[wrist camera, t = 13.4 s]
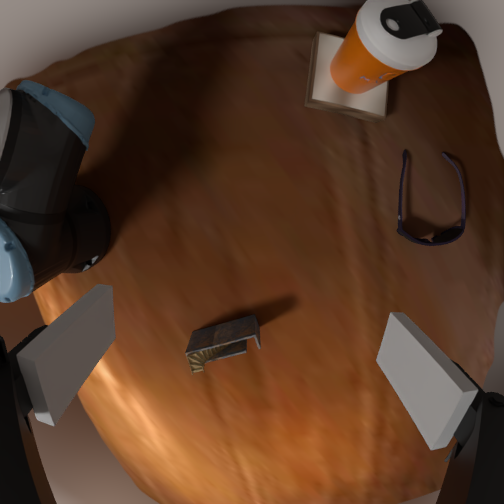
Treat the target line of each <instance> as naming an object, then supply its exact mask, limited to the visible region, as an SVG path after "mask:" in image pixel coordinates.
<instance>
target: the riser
mask: <svg viewBox="0 0 504 504" xmlns="http://www.w3.org/2000/svg"><path fill="white" fill-rule="evenodd" d="M344 39H345V38H343V37H339V36H335V35H331V34H326V33H322V32H317V33H316V35H315V37H314V39H313V42H312V50H311V59H310V67H309V75H308V83H307V91H306V98H305V107H310V108H315V109H320V110H325V111H330V112H334V113H339V114H343V115H347V116H351V117H355V118H359V119H363V120H367V121H371V122H375V123H377V122H380V121H382V120H385V119H386V111H387V99H388V86H389V80H388V81H386V82H384V83H382V84H380V85H378V86H376V87H374V88H372V89H370V90H368V91H366V92H364V93H361V94H352V93H349V92H346V91H344V90H342V89H341V88H340V87H339V86H338V85H337V84H336V83H335V82H334V81H333V79H332V77H331V73H330V64H331V61H332V59H333V58H334V56H335V54H336V52H337V51H338V49H339V47H340V46H341V44H342V42H343V41H344Z"/></svg>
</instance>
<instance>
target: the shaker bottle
mask: <svg viewBox="0 0 504 504" xmlns="http://www.w3.org/2000/svg"><path fill="white" fill-rule="evenodd" d="M441 33H442V28H441V27H440V25H439V24H438V22H437V21H436V19H435V18H434V16H433V15H432V13H431V12H430V10H429V9H428V8H427V6H426V5H425V3H424V2H423V1H422V0H411V1H408V0H367V1H366V2H365V4H364V5H363V6H362V7H361V8H360V10H359V11H358V13H357V16H356V20H355V22H354V24H353V25H352V27H351V29H350V30H349V32H348V34H347V36H346V37H345V39H344V41H343V42H342V44H341V46H340V47H339V49H338V51H337V52H336V54H335V56H334V58H333V59H332V61H331V64H330V73H331V77H332V79H333V81H334V82H335V83H336V84H337V85H338V86H339V87H340V88H341V89H342V90H344V91H346V92H349V93H352V94H361V93H364V92H366V91H368V90H370V89H372V88H374V87H376V86H378V85H380V84H382V83H384V82H386V81H388V80H390V79H392V78H394V77H396V76H398V75H401V74H403V73H405V72H407V71H412V70H416V69H418V68H420V67H422V66H423V65H425V64H427V63H428V62H430V61H431V60H432V59H433V57H434V55H435V53H436V50H437V38H436V36H438V35H439V34H441Z"/></svg>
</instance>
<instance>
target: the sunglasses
mask: <svg viewBox="0 0 504 504" xmlns="http://www.w3.org/2000/svg"><path fill="white" fill-rule="evenodd" d="M442 156H443V157H444V158H445V159H446V160H447V161H448V162H450V163H451V164H452V165H453V166H454V168H455V169H456V171H457V173H458V176H459V180H460V184H461V195H462V219H461V226H454V227H452V228H450V229H448V230H446V231H444V232H442V233H441V235H440V236H434V237H433V238H431V240H432V242H430V241H429V240H428V239H419V238H413V237H411V236H410V235H409V234H407V233H406V232H405V231H404V230H403V229H402V192H403V180H404V174H405V167H406V159H407V153H406V150H404V152H403V168H402V173H401V179H400V189H399V208H398V229H397V232H398V233H399V234H400V235H402V236H404V237H405V238H406V239H408V240H410V241H411V242H414V243H417V244H422V245H427V246H436V245H444V244H448V243H451V242H453V241H455V240H457V239H458V238H459V237H460V236H461V235H462V234H463V232H464V229H465V218H466V209H465V192H464V185H463V181H462V177H461V174H460V171H459V169H458V168H457V166H456V165H455V164H454V162H453V161H452V160H451V159H450V158H449V157H448V156H447V155H446V154H445V153H444V152H442Z"/></svg>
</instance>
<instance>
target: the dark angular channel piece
mask: <svg viewBox="0 0 504 504" xmlns="http://www.w3.org/2000/svg"><path fill="white" fill-rule="evenodd" d="M252 337H254V338H255V340H256V343H257V346H258V348H259V349H261V345H260V328H259V325H258V322H257V319H256V316H255V314H254V315H250V316H247V317H244V318H240V319H237V320H233V321H230V322H226V323H223V324H219V325H215V326H212V327H208V328H205V329H201V330H197V331H193V332H192V335H191V338H190V341H189V344H188V347H187V349H186V352H185V354H186V356H187V359H188V362H189V365H190V368H191V372H192V375H193V373H194V372H199V371H203V372H204V364H205V363H207V362H211V361H215V360H219V359H223V358H227V357H230V356H234V355H238V354H242V353H247V339H248V338H252Z"/></svg>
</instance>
